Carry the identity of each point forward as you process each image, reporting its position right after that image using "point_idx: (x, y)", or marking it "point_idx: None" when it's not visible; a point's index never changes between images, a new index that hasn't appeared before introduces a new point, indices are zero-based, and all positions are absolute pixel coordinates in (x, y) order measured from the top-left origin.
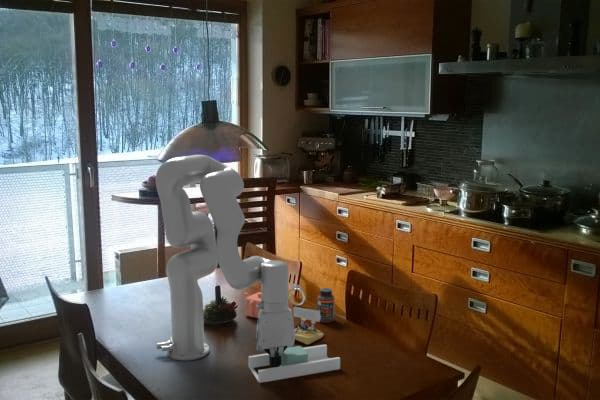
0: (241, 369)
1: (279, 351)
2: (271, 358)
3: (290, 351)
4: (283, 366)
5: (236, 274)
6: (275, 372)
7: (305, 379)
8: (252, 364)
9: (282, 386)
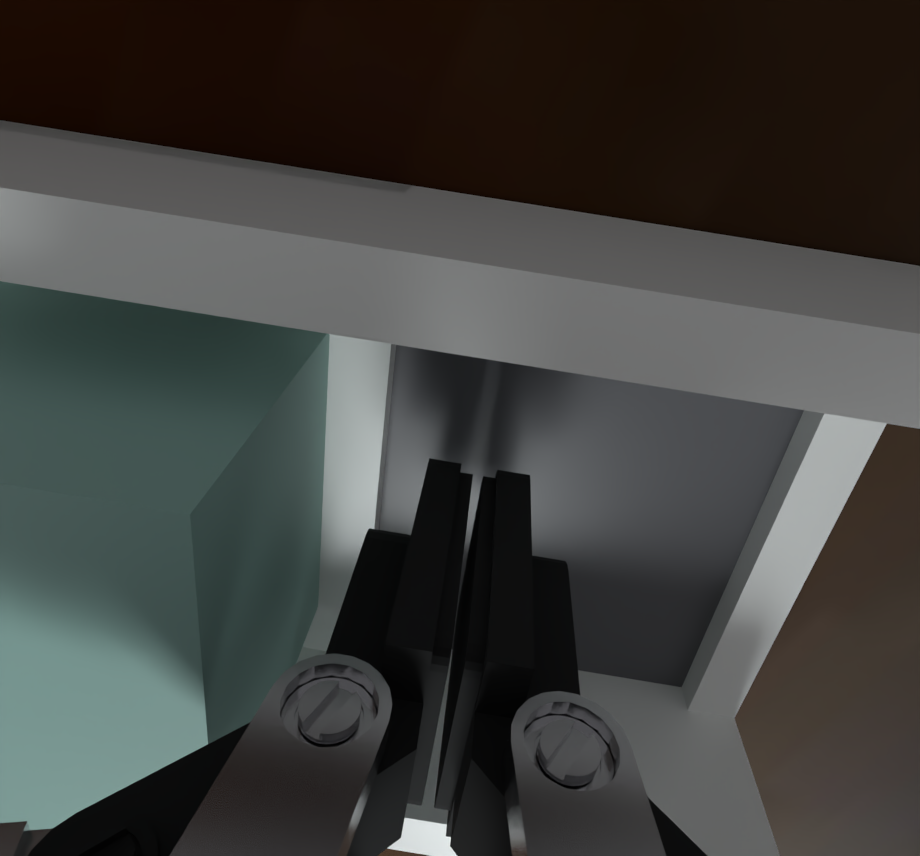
0: (778, 748)
1: (352, 781)
2: (570, 682)
3: (41, 709)
4: (427, 323)
5: None
6: (669, 270)
7: (85, 61)
8: (705, 753)
9: (600, 8)
